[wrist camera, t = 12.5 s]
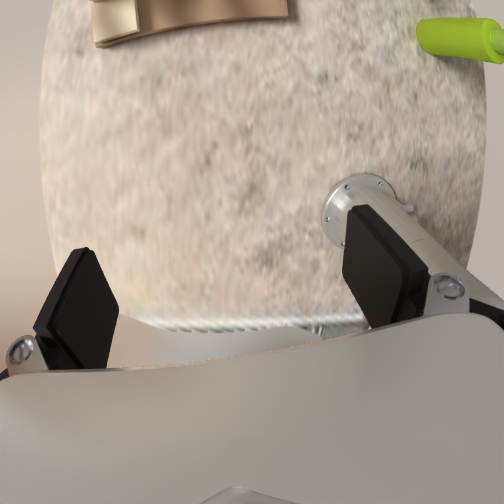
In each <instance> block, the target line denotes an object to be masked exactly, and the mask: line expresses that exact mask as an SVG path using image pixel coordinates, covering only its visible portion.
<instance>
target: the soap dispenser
mask: <svg viewBox="0 0 504 504" xmlns="http://www.w3.org/2000/svg"><path fill="white" fill-rule="evenodd" d="M416 35H417V39H418V42H419V44H420V45H421V47H422V48H423V49H424V50H425V51H426V52H428V53H429V54H432V55H442V56H452V57H460V58H467V59H474V60H480V61H485V62H491V63H496V64H502V63H504V29H502V28H501V26H500V25H499V24H498V23H497V22H496V21H495V20H493V19H489V18H436V19H424V20H421V21H420V22H419V23H418V25H417V28H416Z"/></svg>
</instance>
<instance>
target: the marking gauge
mask: <svg viewBox="0 0 504 504" xmlns="http://www.w3.org/2000/svg"><path fill="white" fill-rule="evenodd" d="M90 2H91V16H92V27H93V36H94V43H102V42H105V41H108V40H111V39H114V38H117V37H121V36H124V35H127V34H131V33H135V32H139V31H140V26H139V16H138V6H137V0H90Z"/></svg>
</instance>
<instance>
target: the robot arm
mask: <svg viewBox="0 0 504 504" xmlns="http://www.w3.org/2000/svg"><path fill="white" fill-rule="evenodd" d="M345 185H346V186H345ZM413 210H414V206H413V204H412V203H407V204H401V203H399V202H398V201H397V200H396V199H395V195H394V192H393V190H392V188H391V187H390V185H389V184H388V183H387V182H385V181H384V180H383V179H381V178H380V177H378V176H376V175H373V174H366V173H365V174H357V175H353V176H350V177H348V178H346V179H344V180H343V181H341V182H340V183H339V184H337V185H336V186H335V187H334V188H333V190H332V191H331V192H330V194H329V195H328V196H327V198H326V200H325V203H324V205H323V209H322V214H321V222H322V227H323V230H324V233H325V234H326V236H327V238H328V239H329V240H330V241H331V242H332V243H333V244H334V245H336V246H337V247H339V248H342V249H344V257H343V266H342V274H343V277H344V279H345V281H346V283H347V285H348V286H349V288H350V290H351V292H352V294H353V295H354V297H355V299H356V301H357V302H358V304H359V306H360V308H361V310H362V311H363V313H364V315H365V317H366V319H367V321H368V323H369V324H370V326H371V328H372V329H370V330H366V331H362V332H357V333H353V334H349V335H345V336H341V337H336V338H332V339H328V340H323V341H318V342H314V343H309V344H304V345H300V346H294V347H288V348H283V349H277V350H272V351H266V352H260V353H254V354H248V355H241V356H234V357H227V358H220V359H213V360H205V361H196V362H188V363H178V364H167V365H155V366H143V367H127V368H106V367H107V362H108V357H109V352H110V348H111V343H112V338H113V334H114V330H115V326H116V321H117V318H118V314H119V307H118V303H117V301H116V299H115V297H114V295H113V293H112V291H111V289H110V287H109V284H108V282H107V280H106V278H105V276H104V273H103V271H102V269H101V267H100V264H99V262H98V260H97V257H96V255H95V253H94V251H93V250H90V249H89V248H88V247H84V248H79V249H74V250H73V251H72V252H71V254H70V256H69V257H68V259H67V261H66V263H65V265H64V266H63V268H62V270H61V272H60V274H59V275H58V277H57V279H56V281H55V283H54V285H53V287H52V289H51V291H50V293H49V295H48V297H47V299H46V301H45V303H44V305H43V307H42V309H41V311H40V313H39V315H38V317H37V320H36V322H35V324H34V326H33V329H34V330H35V332H36V333H37V334H36V336H35V337H33V336H31V335H24V336H21V337H20V338H18V339H16V340H15V341H14V342H13V343H12V344H11V346H10V347H9V349H8V351H7V353H6V365H7V369H5V370H4V371H3V372H2V373H0V504H504V301H503V300H502V299H501V298H500V297H499V296H498V295H497V294H495V293H494V292H493V291H492V290H490V289H489V288H488V287H487V286H486V285H484V284H483V283H482V282H480V281H479V280H478V279H477V278H476V277H474V276H473V275H472V274H471V273H470V272H468V270H466V269H465V268H464V267H463V266H462V265H461V264H460V263H459V262H458V261H457V260H456V259H455V258H454V257H453V256H452V255H451V254H450V253H449V252H448V251H447V250H446V249H445V248H444V247H443V246H442V245H441V244H440V243H439V242H437V241H436V240H435V239H434V238H433V237H432V236H431V235H430V234H429V233H428V232H427V231H426V230H425V229H424V228H423V227H422V226H421V225H420V224H419V223H418V219H417V217H416V215H409V214H408V213H407V212H413Z"/></svg>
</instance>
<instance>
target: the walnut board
mask: <svg viewBox="0 0 504 504" xmlns="http://www.w3.org/2000/svg"><path fill="white" fill-rule="evenodd" d="M137 6H138V16H139V26H140V31H139V32H135V33H131V34H127V35H124V36H121V37H117V38H114V39H111V40H108V41H105V42H102V43H95V45H96V47H97V48H104V47H107V46H110V45H113V44H116V43H120V42H123V41H127V40H130V39H134V38H138V37H141V36H145V35H149V34H154V33H158V32H163V31H168V30H172V29H178V28H183V27H189V26H195V25H202V24H209V23H218V22H227V21H238V20H253V19H285V18H286V17H288V7H287V0H137Z"/></svg>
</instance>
